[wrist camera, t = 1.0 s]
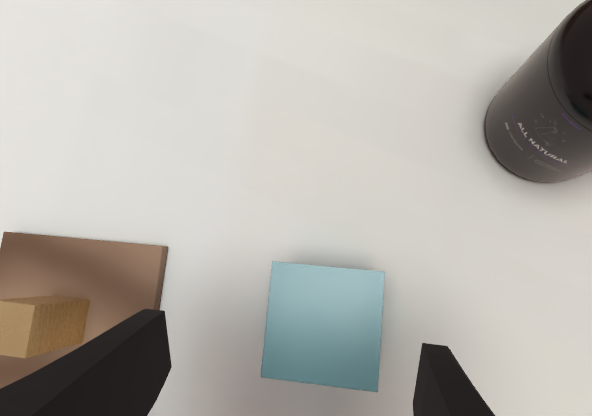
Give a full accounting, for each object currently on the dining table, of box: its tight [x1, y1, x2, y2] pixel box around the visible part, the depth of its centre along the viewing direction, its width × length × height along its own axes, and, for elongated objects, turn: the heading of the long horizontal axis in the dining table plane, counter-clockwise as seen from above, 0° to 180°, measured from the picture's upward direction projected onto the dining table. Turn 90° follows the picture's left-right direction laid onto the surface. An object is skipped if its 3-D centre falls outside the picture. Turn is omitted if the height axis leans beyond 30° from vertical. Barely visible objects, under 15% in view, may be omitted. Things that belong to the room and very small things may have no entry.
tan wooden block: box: [0, 296, 90, 358], centre depth 23 cm, size 3×3×5 cm
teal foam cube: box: [261, 261, 385, 392], centre depth 21 cm, size 5×5×6 cm
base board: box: [0, 232, 168, 388], centre depth 25 cm, size 19×11×1 cm, turn 175°
